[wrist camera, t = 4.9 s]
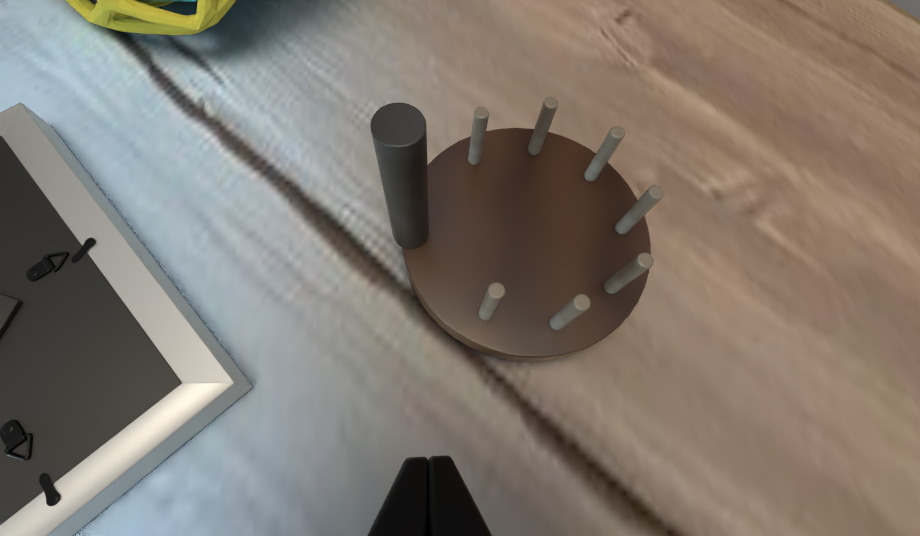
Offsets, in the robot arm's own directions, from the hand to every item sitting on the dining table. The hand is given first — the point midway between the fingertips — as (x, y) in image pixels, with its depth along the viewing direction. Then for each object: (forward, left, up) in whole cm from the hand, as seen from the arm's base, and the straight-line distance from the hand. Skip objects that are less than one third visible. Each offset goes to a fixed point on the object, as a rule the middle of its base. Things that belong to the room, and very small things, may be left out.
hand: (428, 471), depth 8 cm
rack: (+2, -11, -12) cm, 17 cm away
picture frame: (+21, +8, -14) cm, 26 cm away
